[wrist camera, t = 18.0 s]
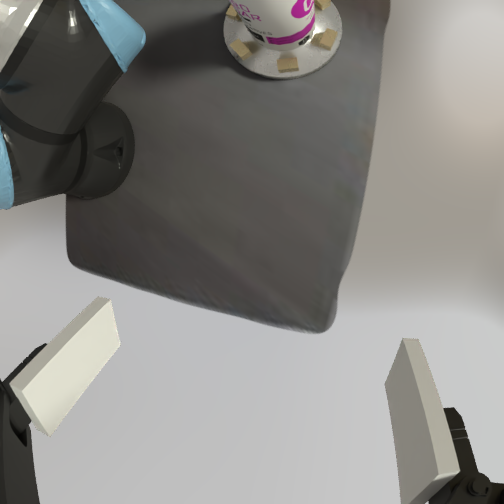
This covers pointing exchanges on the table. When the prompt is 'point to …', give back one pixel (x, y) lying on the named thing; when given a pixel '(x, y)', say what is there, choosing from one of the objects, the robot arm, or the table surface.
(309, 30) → the supplement can
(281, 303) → the table surface
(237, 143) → the table surface
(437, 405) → the robot arm
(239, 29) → the ring plate
